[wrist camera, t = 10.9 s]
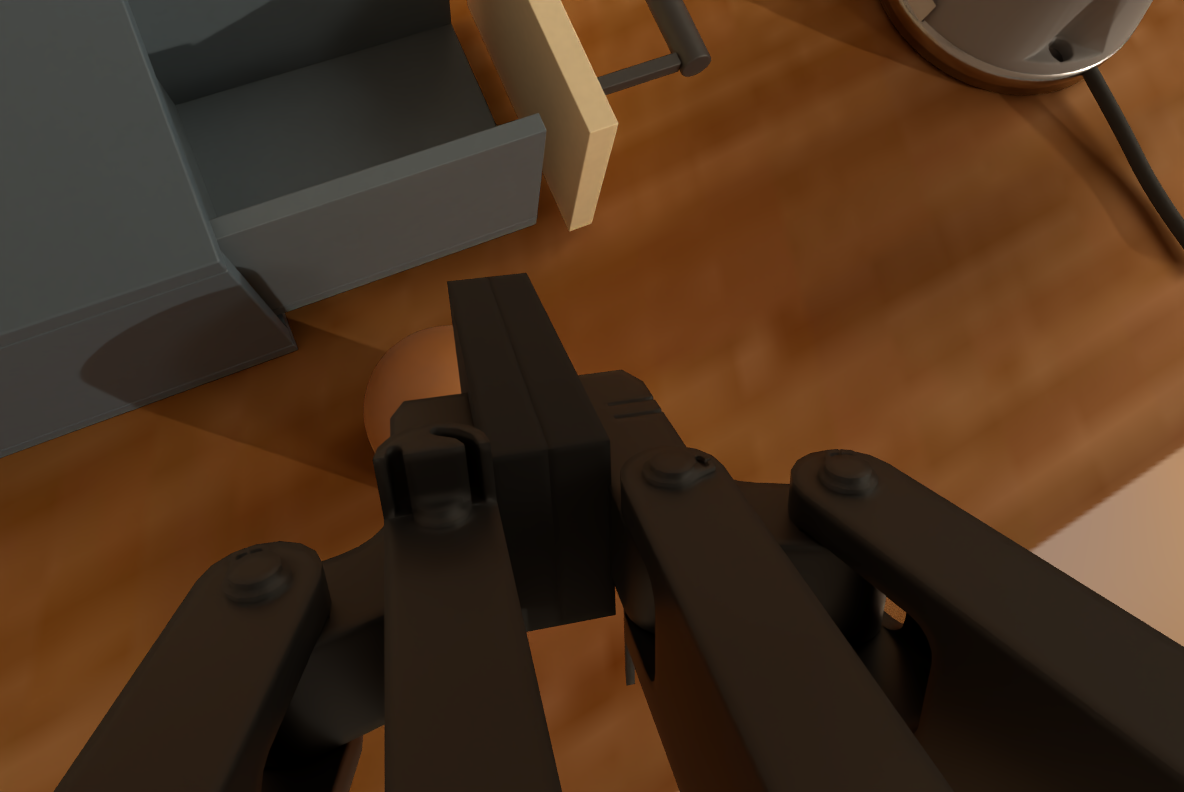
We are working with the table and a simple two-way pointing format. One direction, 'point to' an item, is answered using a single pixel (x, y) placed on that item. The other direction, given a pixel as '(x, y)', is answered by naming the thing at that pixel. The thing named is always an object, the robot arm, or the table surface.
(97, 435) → the table surface
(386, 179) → the drawer
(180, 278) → the cabinet
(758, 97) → the table surface
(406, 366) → the dome-topped cylinder
